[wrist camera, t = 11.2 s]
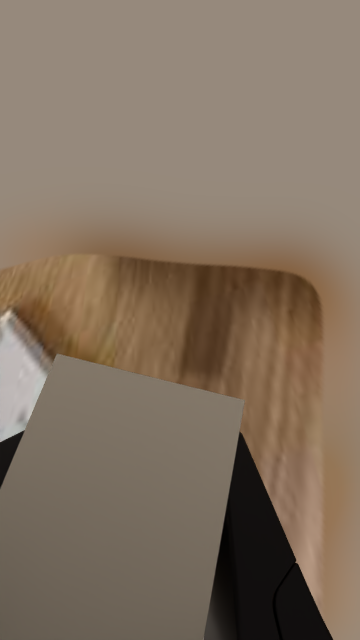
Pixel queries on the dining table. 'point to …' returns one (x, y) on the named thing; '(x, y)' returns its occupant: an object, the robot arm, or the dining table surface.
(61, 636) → the tall board
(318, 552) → the dining table surface
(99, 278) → the dining table surface
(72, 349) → the dining table surface
